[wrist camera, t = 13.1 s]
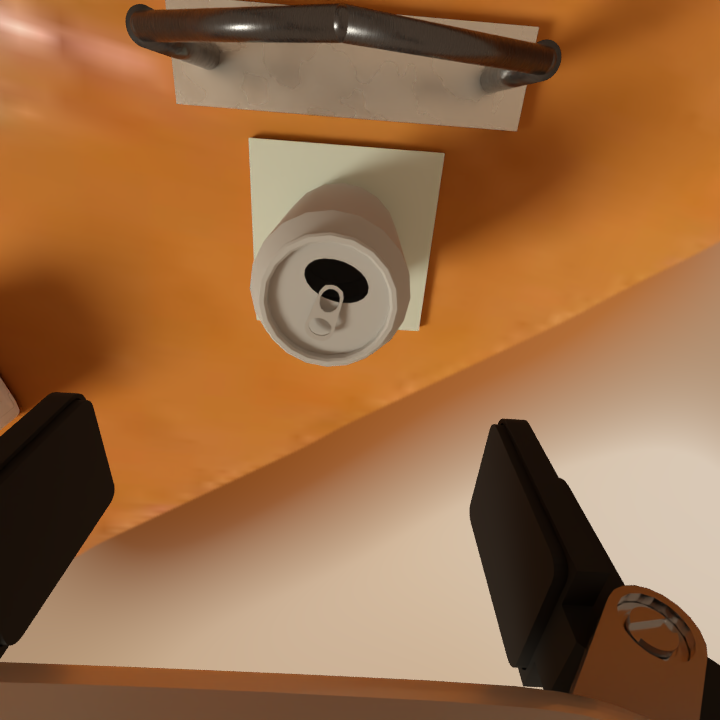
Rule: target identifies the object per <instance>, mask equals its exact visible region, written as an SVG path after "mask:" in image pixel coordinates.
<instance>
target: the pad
mask: <svg viewBox="0 0 720 720" xmlns="http://www.w3.org/2000/svg"><path fill="white" fill-rule="evenodd" d="M444 155H445V153H439V152H426V151H413V150H401V149H388V148H376V147H363V146H350V145H338V144H325V143H312V142H300V141H287V140H275V139H262V138H249V157H250V179H251V202H252V225H253V248H254V260H255V258H256V256H257V254H258V252H259V250H260V248H261V246H262V244H263V242H264V240H265V239H266V238H267V237H268V236H269V234H270V233H271V232H272V231H273V230H274V228H275V227H276V226H277V225H278V224H279V222H280V221H281V220H282V219H283V218H284V216H285V215H286V214H287V213H288V212H289V211H290V209H291V208H292V207H293V206H294V205H295V204H296V203H297V202H298V201H299V200H300V199H301V198H302V197H303V196H304V195H305V194H306V193H307V192H309V191H311V190H313V189H316V188H318V187H320V186H322V185H325V184H335V183H346V184H350V185H354V186H358V187H362V188H363V189H365V190H367V191H368V192H370V193H371V194H373V195H374V196H376V197H378V199H379V200H380V201H381V202H382V204H383V205H384V206H385V207H386V208H387V210H388V211H389V212H390V215H391V217H392V220H393V222H394V225H395V228H396V230H397V234H398V237H399V241H400V244H401V247H402V251H403V254H404V257H405V261H406V264H407V267H408V271H409V275H410V302H409V305H408V308H407V312H406V315H405V319H404V321H403V323H402V324H401V326H400V327H399V329H398V330H411V331H419V325H420V318H421V312H422V305H423V298H424V291H425V284H426V278H427V271H428V264H429V257H430V250H431V244H432V237H433V230H434V223H435V216H436V210H437V203H438V196H439V189H440V182H441V176H442V169H443V162H444ZM256 317H257V320H260V319H259V317H258V315H257V314H256Z"/></svg>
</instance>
